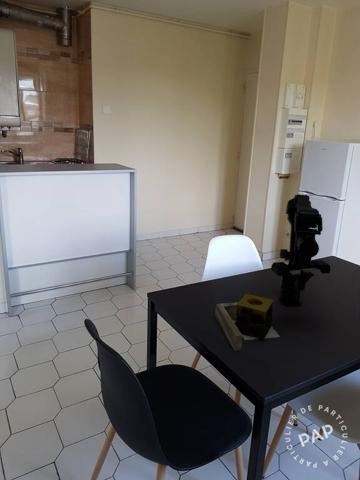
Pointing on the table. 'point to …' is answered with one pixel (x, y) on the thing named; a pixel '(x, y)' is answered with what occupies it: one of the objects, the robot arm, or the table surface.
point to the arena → (229, 323)
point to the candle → (254, 316)
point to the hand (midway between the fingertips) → (297, 291)
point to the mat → (270, 334)
